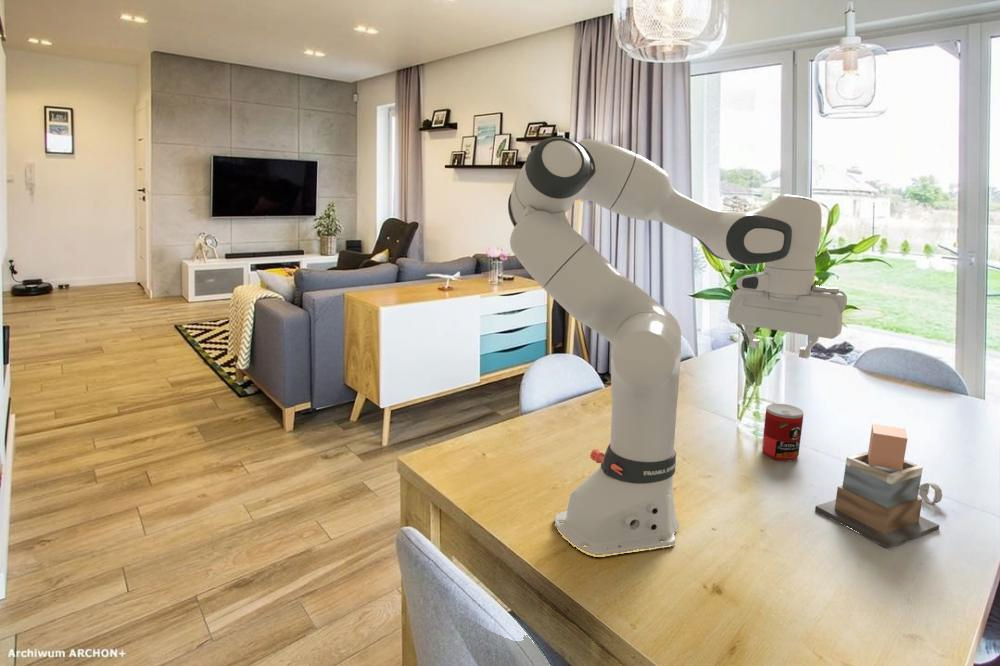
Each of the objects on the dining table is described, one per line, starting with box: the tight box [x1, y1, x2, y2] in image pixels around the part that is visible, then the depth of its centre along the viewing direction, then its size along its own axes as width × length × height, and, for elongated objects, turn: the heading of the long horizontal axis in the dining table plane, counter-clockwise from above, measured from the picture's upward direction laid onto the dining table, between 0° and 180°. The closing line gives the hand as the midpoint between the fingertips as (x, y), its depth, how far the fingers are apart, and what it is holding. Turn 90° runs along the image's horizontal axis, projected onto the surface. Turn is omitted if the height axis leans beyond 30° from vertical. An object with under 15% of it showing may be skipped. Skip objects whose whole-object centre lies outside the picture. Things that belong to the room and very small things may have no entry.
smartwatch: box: [918, 482, 943, 505], centre depth 117 cm, size 4×2×4 cm, turn 14°
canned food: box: [761, 403, 804, 462], centre depth 138 cm, size 8×8×11 cm
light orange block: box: [867, 423, 908, 471], centre depth 108 cm, size 5×5×6 cm
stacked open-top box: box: [814, 451, 940, 550], centre depth 110 cm, size 14×14×12 cm
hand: (778, 352), depth 118 cm, fingers open, 8 cm apart
